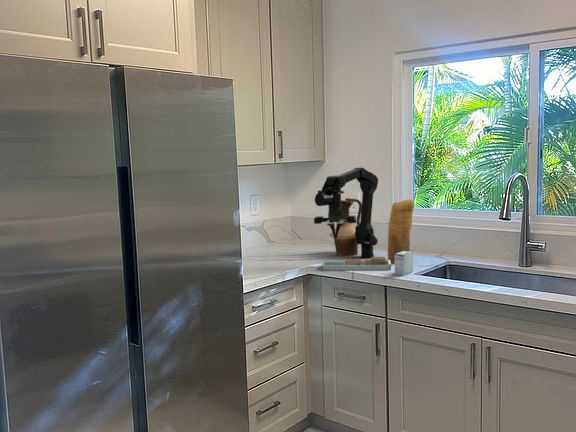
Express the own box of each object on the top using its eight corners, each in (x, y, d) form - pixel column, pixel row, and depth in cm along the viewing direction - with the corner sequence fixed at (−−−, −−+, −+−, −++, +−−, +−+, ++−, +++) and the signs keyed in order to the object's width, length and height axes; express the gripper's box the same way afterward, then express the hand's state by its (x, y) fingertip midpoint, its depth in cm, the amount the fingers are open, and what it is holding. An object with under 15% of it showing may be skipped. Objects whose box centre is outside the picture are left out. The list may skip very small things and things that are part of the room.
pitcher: (364, 250, 295) (363, 196, 292) (365, 257, 278) (364, 199, 275) (329, 251, 296) (328, 197, 293) (329, 257, 280) (327, 200, 277)
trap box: (323, 264, 264) (323, 258, 264) (389, 263, 260) (389, 258, 260) (321, 270, 251) (320, 264, 250) (391, 269, 247) (390, 264, 246)
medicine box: (403, 271, 244) (403, 250, 243) (413, 272, 241) (413, 251, 240) (394, 274, 238) (394, 253, 237) (404, 275, 235) (403, 254, 234)
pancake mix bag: (419, 259, 268) (418, 199, 265) (393, 265, 255) (392, 202, 252) (407, 257, 273) (406, 198, 270) (381, 263, 260) (380, 202, 257)
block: (371, 266, 255) (371, 256, 255) (385, 266, 254) (385, 256, 254) (371, 269, 250) (371, 259, 250) (385, 269, 249) (385, 258, 249)
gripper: (312, 206, 252) (313, 241, 254) (355, 205, 250) (356, 241, 252) (314, 204, 263) (315, 237, 265) (355, 203, 261) (356, 237, 263)
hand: (335, 238), depth 261 cm, fingers closed
